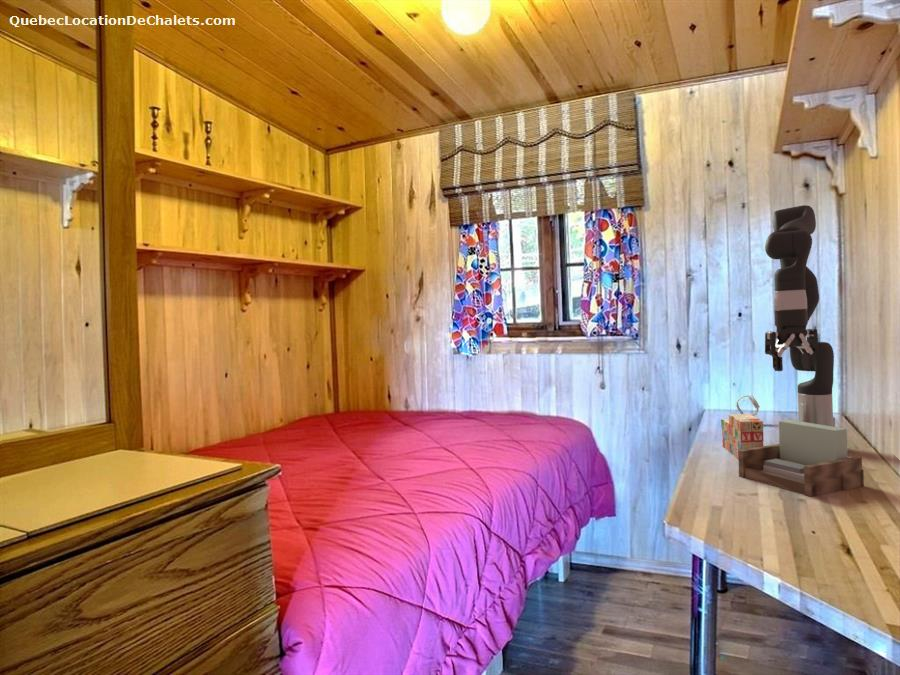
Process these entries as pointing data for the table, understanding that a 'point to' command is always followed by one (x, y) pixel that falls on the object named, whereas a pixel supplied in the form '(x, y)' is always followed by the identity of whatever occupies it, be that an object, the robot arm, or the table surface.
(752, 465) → the rack
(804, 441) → the tall sheet
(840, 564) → the table surface
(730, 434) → the stack of blocks
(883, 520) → the table surface
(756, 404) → the watch
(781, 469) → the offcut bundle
